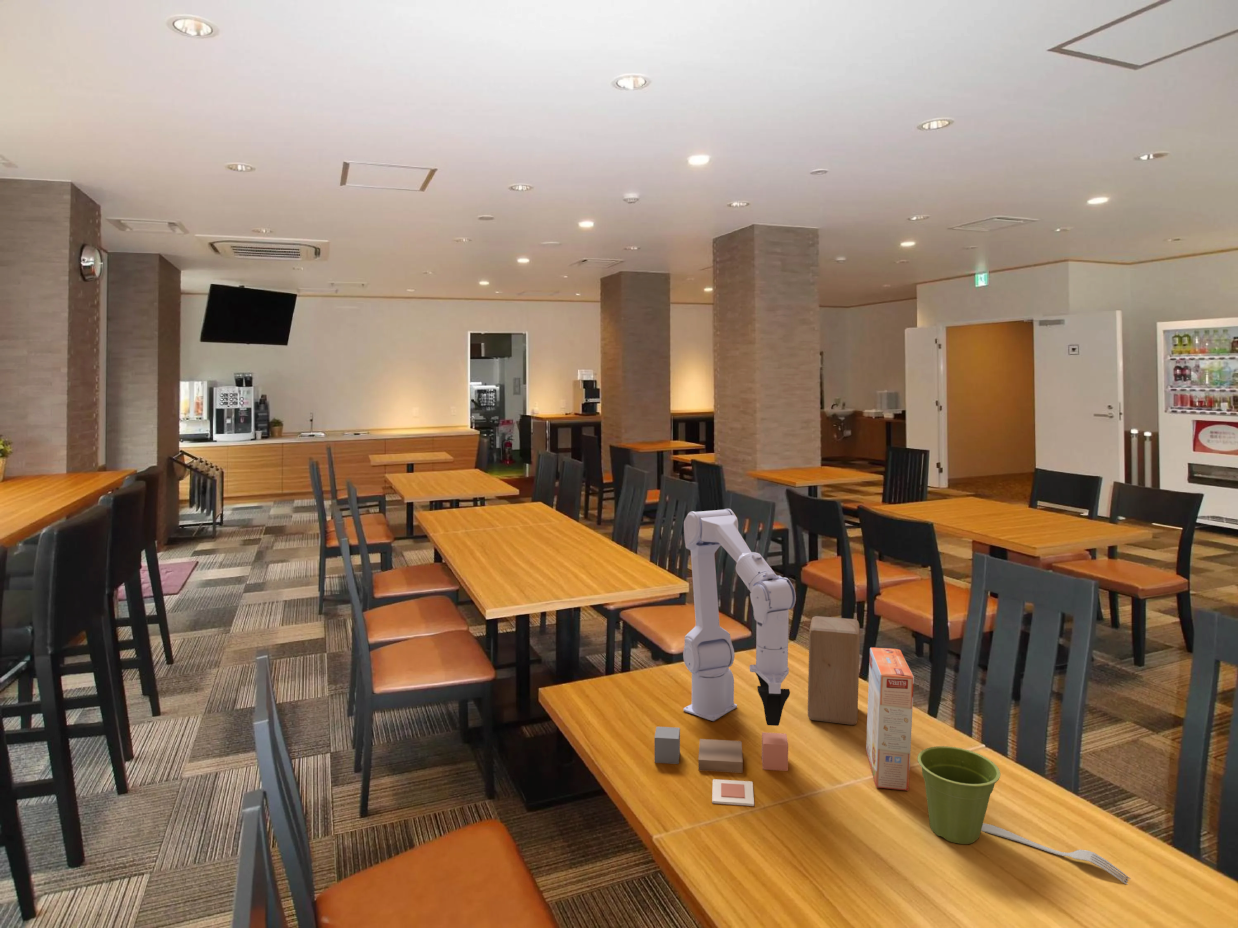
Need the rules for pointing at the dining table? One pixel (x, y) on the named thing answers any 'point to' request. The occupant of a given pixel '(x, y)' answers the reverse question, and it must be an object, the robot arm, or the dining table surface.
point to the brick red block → (774, 751)
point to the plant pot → (957, 791)
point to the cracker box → (889, 718)
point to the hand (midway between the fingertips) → (771, 715)
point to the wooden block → (833, 670)
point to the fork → (1076, 854)
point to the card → (732, 792)
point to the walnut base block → (720, 755)
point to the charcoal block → (667, 745)
